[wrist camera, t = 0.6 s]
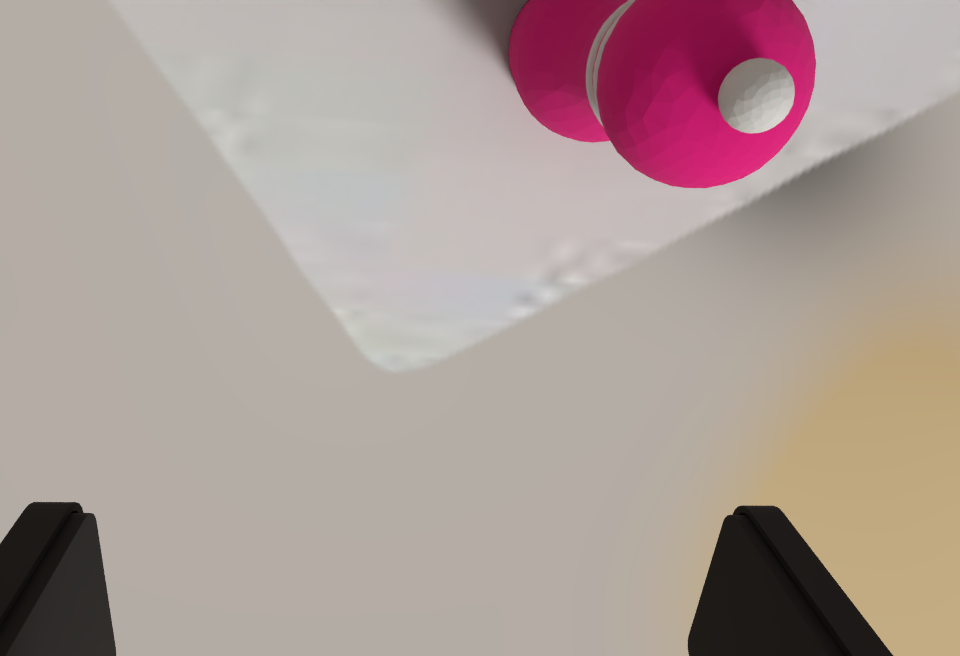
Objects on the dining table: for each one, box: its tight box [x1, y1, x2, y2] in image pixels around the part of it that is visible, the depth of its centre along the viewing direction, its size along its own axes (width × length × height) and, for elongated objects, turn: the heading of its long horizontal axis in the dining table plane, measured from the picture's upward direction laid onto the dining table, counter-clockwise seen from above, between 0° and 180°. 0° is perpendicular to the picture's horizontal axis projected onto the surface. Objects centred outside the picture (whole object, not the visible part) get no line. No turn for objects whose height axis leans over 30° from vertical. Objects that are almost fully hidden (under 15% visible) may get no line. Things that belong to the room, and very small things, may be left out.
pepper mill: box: [508, 0, 816, 188], centre depth 26 cm, size 7×7×20 cm
